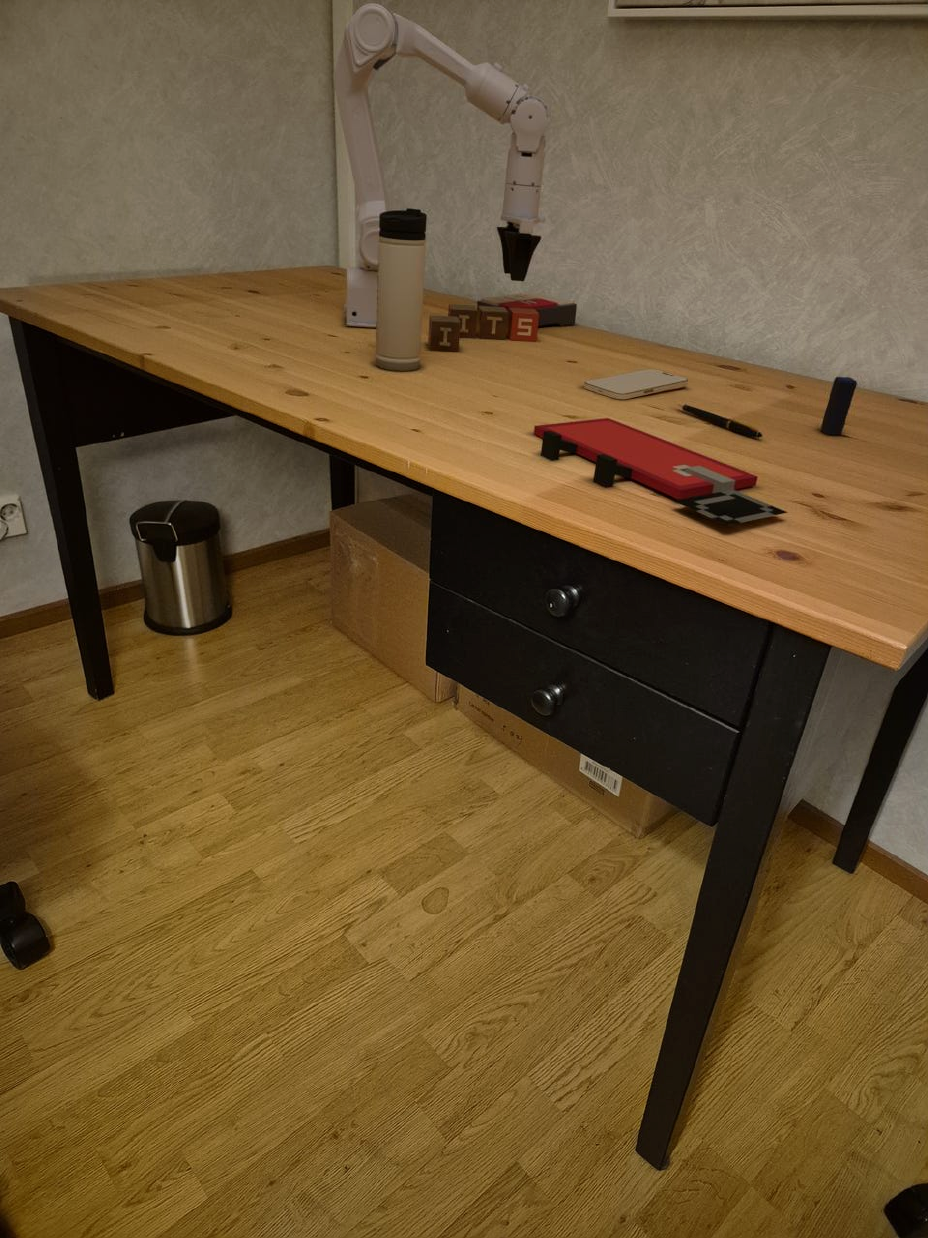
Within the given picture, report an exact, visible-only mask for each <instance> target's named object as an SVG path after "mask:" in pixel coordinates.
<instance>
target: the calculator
mask: <svg viewBox="0 0 928 1238" xmlns="http://www.w3.org/2000/svg"><path fill="white" fill-rule="evenodd" d="M476 303H477V304H476V308H477V310H478V307H479V306H490V307H504V308H505V309H506V310H507V311H508V312H509V308H525V309H535V310H536V311H537V312H538V313H539V321H538V327H541V326H548V325H549V326H550V325H556V326H559V327H565V326H573V325H575V324H576V317H577V309H578V304H577V303H575V301H572V300H568V299H564V298H561V297H557V296H554V295H549V294H545V293H542V292H530V293H522V292H521V293H513V294H505V295H496V296H487V297H486V296H485V297H481V298H480V300H477V301H476ZM507 323H508V321H507Z"/></svg>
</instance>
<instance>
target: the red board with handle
mask: <svg viewBox="0 0 928 1238" xmlns="http://www.w3.org/2000/svg"><path fill="white" fill-rule="evenodd" d="M533 435H535V436H537V437H539V438H541V439H542V441H541V443H542V444H541V449H540V450H541V451H540V456H541V457H543V458H545V459H546V460H549V461H551V462H555V461H559V460H560V453H561V451H564V452H567V453H573V454H577V455H579V456H581V457H584V458H586V459H588V460H591V461H592V462H595V467H594V473H593V479H592V482H593V483H594V484H596V485H599V486H601V487H602V488H604V489H608V488H613V487H614V481H615V476H618V477H624V478H627V479H632V480H634V481H637V482H639V483H641V484H643V485H645V486H648V487H650V488H651V489H654V490H656V491H659V492H662V493H663V494H665V495H668V496H670V497H672V498H674V499H676V500H673V502H675V503H677V504H679V505H681V506H684V507H685V508H688V509H690V510H692V511H694V512H696V513H699V514H701V515H703V516H706V517H708V518H710V519H712V520H714V521H717V522H719V523H721V524H722V525H724V526H732V525H738V524H743V523H746V522H752V521H756V520H759V519H765V518H770V517H775V516H778V515H785V514H788V513H789V512H788V511H786V510H783V509H781V508H779V507H777V506H774V505H771V504H769V503H767V502H764V501H762V500H759V499H757V498H755V497H752V496H750V495H748V494H745V493H743V492H740V491H738V490H739V489H743V488H750V487H755V486H756V485H757V481H758V477H759V476H757V475H755V474H752V473H750V472H747V471H745V470H743V469H740V468H737V467H735V466H732V465H729V464H727V463H724V462H722V461H719V460H717V459H714V458H712V457H709V456H706V455H705V454H701V453H699V452H696V451H693V450H691V449H688V448H686V447H684V446H682V445H679V444H675V443H673V442H671V441H668V440H665V439H663V438H660V437H657V436H655V435H653V434H650V433H648V432H646V431H643V430H640V429H637V428H635V427H633V426H630V425H627V424H625V423H622V422H619V421H617V420H615V419H612V418H609V417H604V418H594V419H585V420H577V421H567V422H558V423H548V424H540V425H534V427H533Z"/></svg>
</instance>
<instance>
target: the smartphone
mask: <svg viewBox="0 0 928 1238" xmlns="http://www.w3.org/2000/svg"><path fill="white" fill-rule="evenodd" d="M688 382H689V379H688V378H686V377H683V376H680V375H676V374H673V373H668V372H666V371H661V370H658V369H656V368H655V369H654V368H645V369H640V370H636V371H631V372H630V371H629V372H625V373H621V374H614V375H610V376H605V377H599V378H594V379H590V380H585V381H584V385H583V388H584V389H585V390H588V391H591V392H595V393H597V394H600V395H603V396H606V397H609V398H613V399H615V400H628V399H633V398H637V397H642V396H647V395H650V394H655V393H660V392H665V391H671V390H677V389H681V388H683V387H687V386H688Z"/></svg>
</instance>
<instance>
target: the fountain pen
mask: <svg viewBox="0 0 928 1238" xmlns="http://www.w3.org/2000/svg"><path fill="white" fill-rule="evenodd" d="M676 405H677V406H678V407H680V408H681V409H682V411H685V412H686V413H689V414H691V415H693V416H695V417H699V418H701V419H703V420H706V421H708V422H710V423H712V424H716V425H718V426H720V427H723V428H725V429H727V430H730V431H732V432H735V433H738V434H741V435H745V436H747V437H752V438H756V439H757V438H759V439H760V438H762V437H764V436H763V434H762V432H760V431H759V429H758V428H757V427H754V426H753V425H752V424H751V425H750V424H749V423H746V422H743V421H741V420H738V419H736V418H727V417H724V416H722V415H718V414H716V413H713V412H710V411H707V410H704V409H702V408H701V409H700V408H698V407H695V406H691V405H688V404H679V403H676Z"/></svg>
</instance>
